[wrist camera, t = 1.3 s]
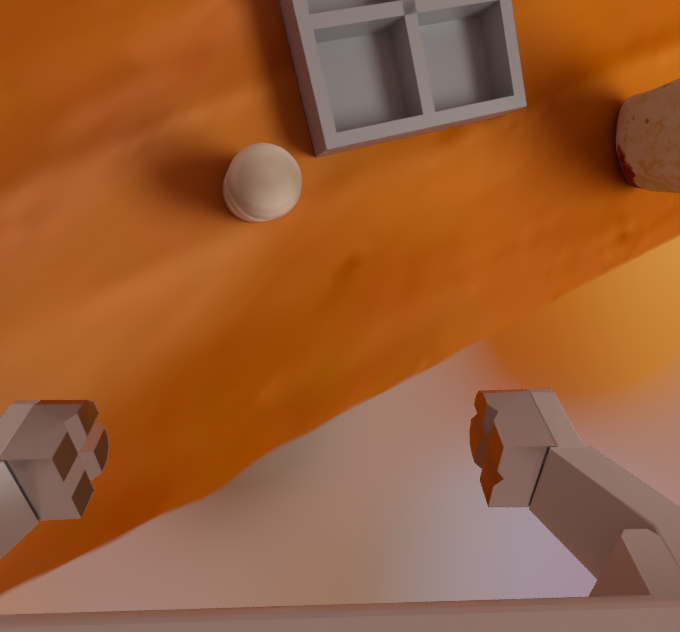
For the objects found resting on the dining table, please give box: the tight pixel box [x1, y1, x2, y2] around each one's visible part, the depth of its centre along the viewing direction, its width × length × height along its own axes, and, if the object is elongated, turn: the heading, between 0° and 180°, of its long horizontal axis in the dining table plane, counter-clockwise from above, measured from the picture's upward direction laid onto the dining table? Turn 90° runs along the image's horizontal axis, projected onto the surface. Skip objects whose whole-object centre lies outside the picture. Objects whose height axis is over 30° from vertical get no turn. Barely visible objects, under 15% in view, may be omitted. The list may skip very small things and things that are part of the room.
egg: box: [222, 143, 302, 223], centre depth 35 cm, size 5×5×10 cm
